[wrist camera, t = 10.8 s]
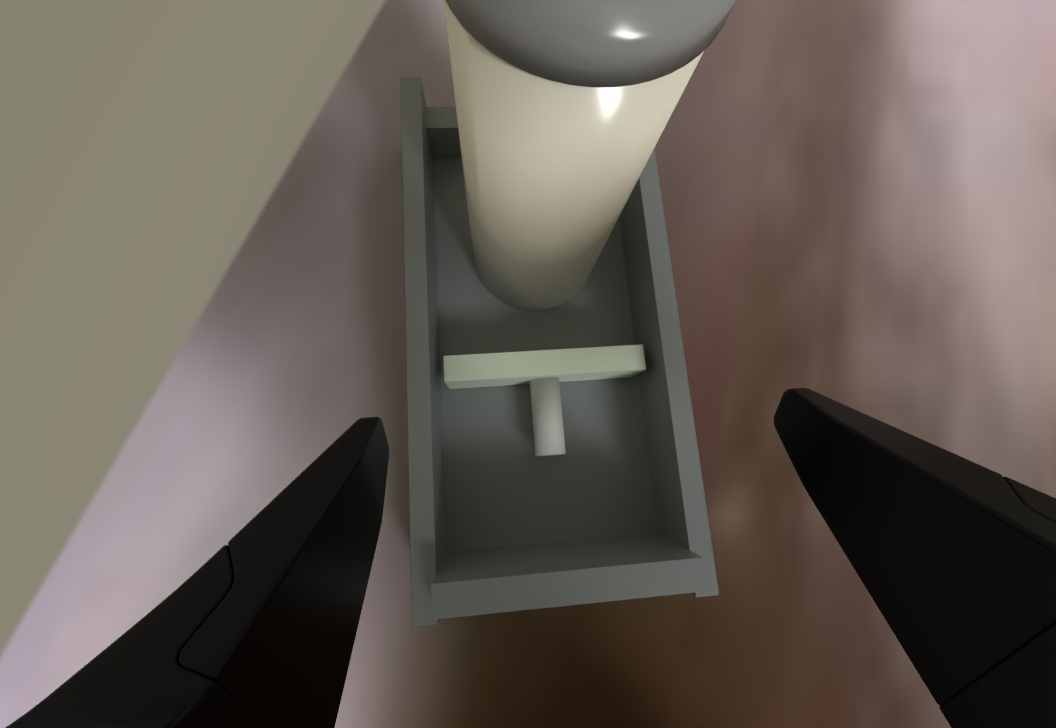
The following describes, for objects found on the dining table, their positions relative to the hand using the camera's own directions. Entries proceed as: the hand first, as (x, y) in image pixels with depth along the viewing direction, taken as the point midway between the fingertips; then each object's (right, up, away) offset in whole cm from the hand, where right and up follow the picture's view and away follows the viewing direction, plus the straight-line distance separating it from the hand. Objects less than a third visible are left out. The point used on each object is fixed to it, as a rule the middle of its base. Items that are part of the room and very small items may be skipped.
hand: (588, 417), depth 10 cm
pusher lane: (-1, +2, +10) cm, 10 cm away
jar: (-1, +6, +10) cm, 12 cm away
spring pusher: (-1, -1, +9) cm, 9 cm away
